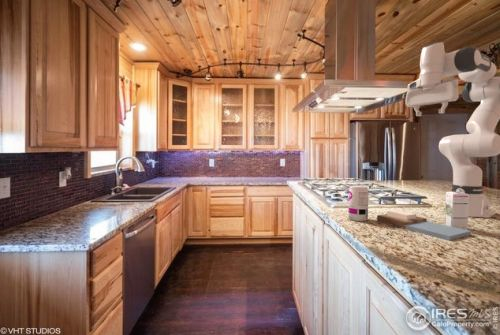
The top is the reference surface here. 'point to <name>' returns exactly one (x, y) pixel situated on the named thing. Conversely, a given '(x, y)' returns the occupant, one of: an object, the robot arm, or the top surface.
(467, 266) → the top surface
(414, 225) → the mat
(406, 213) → the cream rectangular block
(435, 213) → the top surface
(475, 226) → the top surface
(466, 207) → the syrup box
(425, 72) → the robot arm
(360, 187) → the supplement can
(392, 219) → the brown square tile
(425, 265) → the top surface
